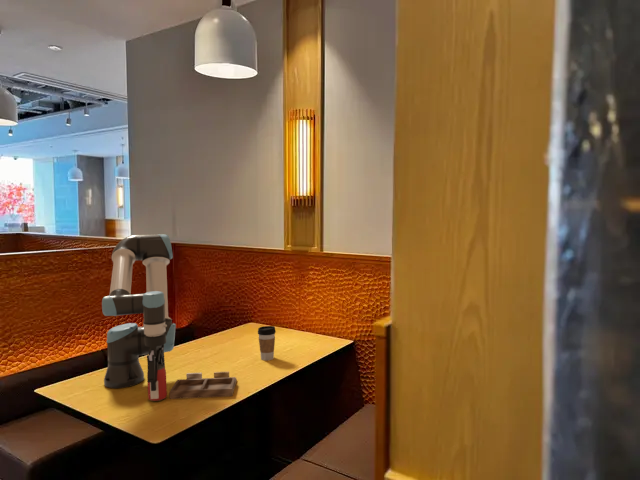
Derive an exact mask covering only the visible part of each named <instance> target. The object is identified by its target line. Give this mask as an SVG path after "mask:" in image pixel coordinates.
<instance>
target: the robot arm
mask: <svg viewBox="0 0 640 480" xmlns="http://www.w3.org/2000/svg"><path fill="white" fill-rule="evenodd" d="M171 242H172V241H171V237H170V236H169V234H163V233H161V234H160V233H156V234H132V235H129V236H126V237H125V238H122V239H121V240H120V241H119V242H118V243H117V244H116V245H115V246H114V247H113V250H112V253H111V261H112V265H113V266H112V271H111V278H110V279H111V280H110V288H109V295H107V296H103V298H102V300H101V310H102V314H103V315H104V316H105V317H113V316H114V317H117V316H126V315H138V314H143V323H142V326H139V325H138V324H137V323H136V322H128V323H124V324H119V325H116V326H114V327H112V328H110V329H109V330H108V331H107V334H106V346H107V347H106V349H107V350H106V351H107V369H106V370H105V374H104V378H103V379H104V380H103V382H104V383H103V384H104V386H105V387H106V388H109V389H123V388H129V387H133V386H135V385H138V384H140V383H142V382H143V381H144V380H145V373H144V370H143V368H142V366H141V364H140V358H139V356H143V355H146V361H147V372H148V380H146V383H148V382H150V396H151V399H158V398H159V391H158V381H157V372H158V364H162V365H164V368H165V369H166V366H165V365H166V364H165V363H166V361H165V353H169V352H171V351H173V350H174V347H175V338H176V326H177V325H176V323H174V322H173V319H172V318H171V317H169V303H168V302H169V301H168V279H167V278H168V277H167V266H168V265H169V264H170V262H171V261H170V260H172V259H173V258H174V256H173V249H172V243H171ZM136 261H141V262H142V265H144V266H145V274H146V275H145V277H146V281H145V282H146V284H145V285H146V292H145V293H144V292H143V293H135V294H131V293H132V292H131V291H132V282H133V281H132V280H133V265H134V264H135V262H136Z"/></svg>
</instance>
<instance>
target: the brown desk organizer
mask: <svg viewBox="0 0 640 480" xmlns="http://www.w3.org/2000/svg"><path fill="white" fill-rule="evenodd" d="M237 380H238V379H237V377H236V376H231V377H230V371H213V377H211V378H210V377H209V378H208V377H207V378H203V373H202V372H187V373H186V378H184V379H183V378H181V379H176V381H175V383H174V384H173V386H172V387H171V389H170V390H169V400H172V399H173V400H175V399H195V398H201V399H202V398H217V397H219V398H221V397H233V394H234V391H235V388H236V384H237Z"/></svg>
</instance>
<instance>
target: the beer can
mask: <svg viewBox="0 0 640 480" xmlns="http://www.w3.org/2000/svg"><path fill="white" fill-rule="evenodd" d="M166 371H167V370H166V367H165V368H164V365H162V364H158V372H157V381H158V391H159V398H158V399H151V396H150V382H147V399H148V400H149V401H151V402H159V401H162V400H164V399H166V398H167V396H168V390H167V389H168V387H167V372H166ZM146 377H147V380H146V381H148V371H147V375H146Z"/></svg>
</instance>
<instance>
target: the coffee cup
mask: <svg viewBox="0 0 640 480" xmlns="http://www.w3.org/2000/svg"><path fill="white" fill-rule="evenodd" d="M276 333H277V331H276V327H275V326H274V325H266V326H261V327H258V329H257V334H258V344H259V351H260V360H262V361H271V360H273V359H274V358H275V355H274V354H275V341H276V337H275V336H276Z"/></svg>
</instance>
